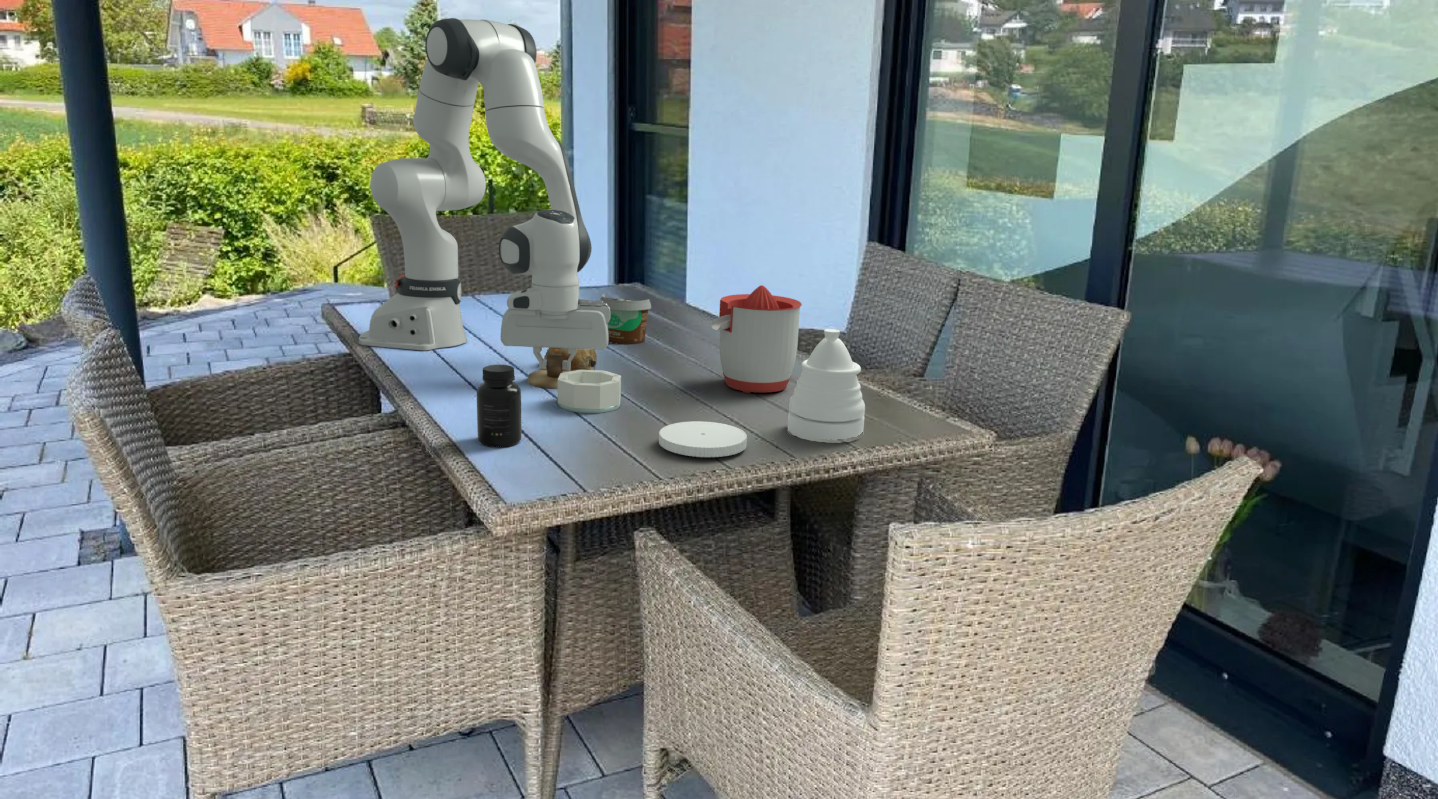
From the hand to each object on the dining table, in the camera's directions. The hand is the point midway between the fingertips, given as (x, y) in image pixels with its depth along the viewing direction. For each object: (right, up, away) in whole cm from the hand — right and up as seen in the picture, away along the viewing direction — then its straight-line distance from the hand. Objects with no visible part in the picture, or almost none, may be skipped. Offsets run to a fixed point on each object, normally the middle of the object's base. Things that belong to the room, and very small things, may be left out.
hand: (554, 370), depth 206 cm
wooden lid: (0, -2, +1) cm, 2 cm away
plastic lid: (+29, -14, -34) cm, 47 cm away
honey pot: (+49, -11, -23) cm, 56 cm away
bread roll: (+1, +1, +12) cm, 12 cm away
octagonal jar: (+8, -7, -14) cm, 17 cm away
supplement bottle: (-3, -12, -36) cm, 38 cm away
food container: (+9, +7, +37) cm, 38 cm away
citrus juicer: (+38, -3, +4) cm, 38 cm away
